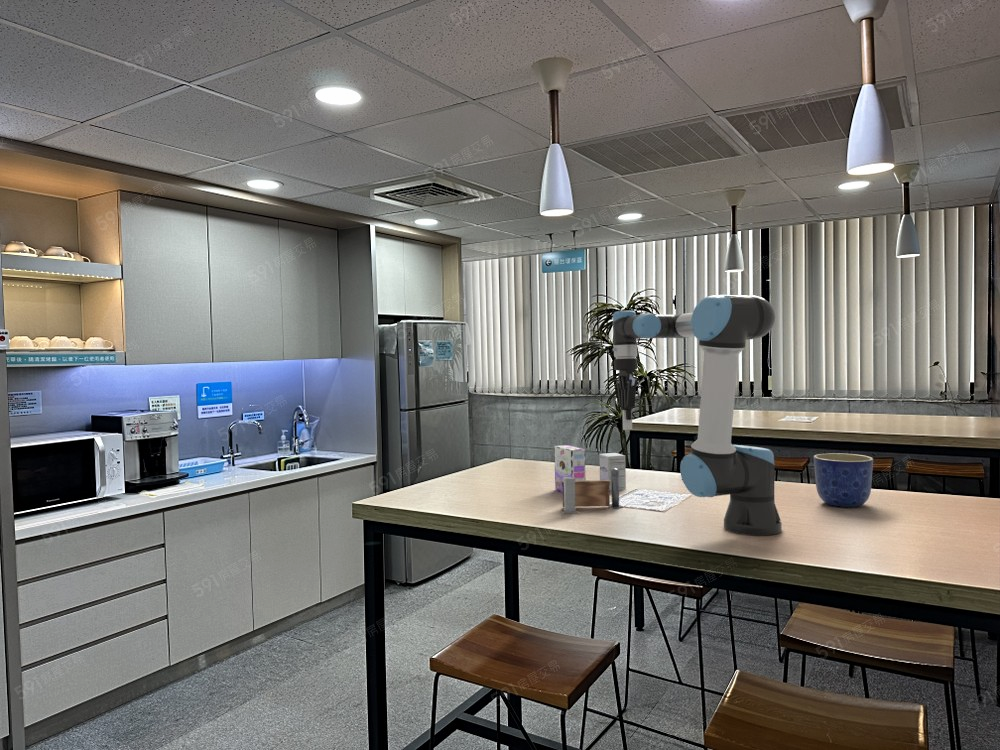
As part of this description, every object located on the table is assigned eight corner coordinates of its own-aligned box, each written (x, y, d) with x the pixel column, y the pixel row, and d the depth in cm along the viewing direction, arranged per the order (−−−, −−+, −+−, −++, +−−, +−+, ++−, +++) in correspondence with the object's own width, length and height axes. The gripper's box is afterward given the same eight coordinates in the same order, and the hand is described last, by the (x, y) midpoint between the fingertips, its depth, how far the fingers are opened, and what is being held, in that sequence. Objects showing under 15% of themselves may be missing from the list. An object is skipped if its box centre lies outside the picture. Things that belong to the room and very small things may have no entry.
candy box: (586, 495, 239) (585, 448, 239) (571, 496, 237) (571, 449, 237) (568, 488, 252) (567, 444, 252) (554, 489, 250) (553, 445, 250)
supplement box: (599, 487, 253) (598, 453, 252) (617, 485, 255) (616, 452, 255) (608, 490, 246) (607, 456, 245) (626, 489, 248) (626, 455, 248)
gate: (609, 505, 220) (609, 480, 220) (610, 506, 219) (609, 481, 218) (562, 505, 220) (561, 480, 220) (562, 507, 219) (562, 481, 219)
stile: (578, 513, 212) (577, 478, 212) (564, 513, 212) (564, 479, 211) (575, 510, 216) (574, 476, 215) (561, 511, 215) (561, 477, 215)
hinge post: (622, 508, 218) (622, 469, 217) (611, 508, 217) (611, 469, 217) (619, 505, 221) (618, 467, 221) (608, 506, 221) (607, 467, 220)
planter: (859, 513, 204) (859, 463, 204) (804, 504, 218) (803, 457, 217) (882, 504, 215) (882, 456, 215) (828, 496, 228) (828, 451, 228)
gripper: (607, 358, 229) (609, 428, 229) (621, 357, 216) (624, 431, 216) (628, 358, 230) (630, 427, 230) (644, 357, 217) (646, 430, 217)
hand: (627, 429), depth 223 cm, fingers closed
